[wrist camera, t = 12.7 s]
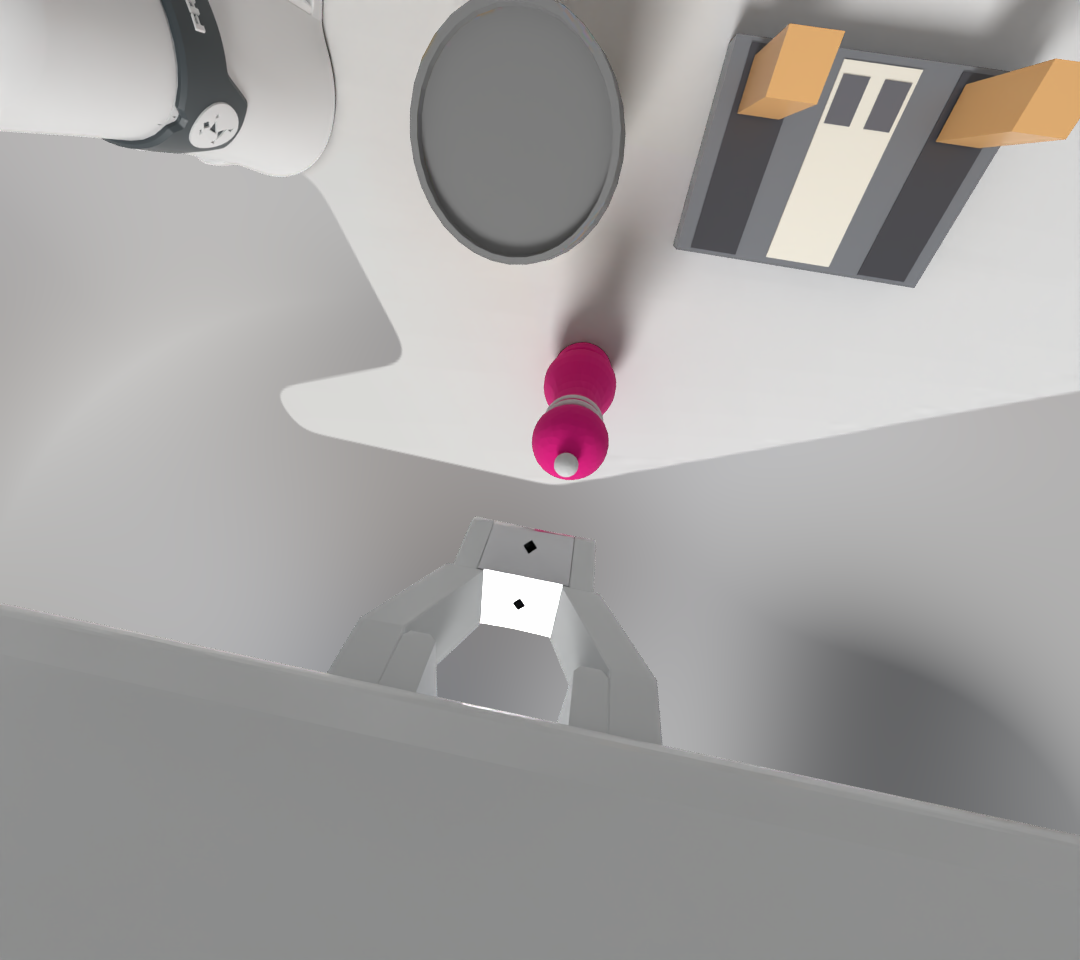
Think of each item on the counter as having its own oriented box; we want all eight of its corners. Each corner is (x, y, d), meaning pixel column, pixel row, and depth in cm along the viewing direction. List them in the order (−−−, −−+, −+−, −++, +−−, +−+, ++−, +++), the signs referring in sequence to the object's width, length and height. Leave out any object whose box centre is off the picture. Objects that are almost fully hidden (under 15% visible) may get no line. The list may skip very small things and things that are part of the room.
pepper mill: (543, 343, 45) (503, 433, 29) (611, 331, 43) (610, 419, 27) (556, 405, 49) (527, 515, 32) (619, 396, 47) (622, 507, 31)
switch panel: (897, 282, 37) (915, 288, 35) (673, 245, 38) (676, 249, 36) (1013, 83, 30) (1044, 75, 27) (729, 43, 30) (737, 32, 28)
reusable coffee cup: (621, 41, 31) (626, -51, 19) (622, 235, 38) (626, 259, 26) (461, 73, 33) (374, 9, 21) (489, 251, 40) (436, 278, 28)
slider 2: (979, 148, 30) (1065, 139, 24) (935, 141, 30) (1011, 131, 24) (1012, 90, 28) (1114, 66, 22) (966, 84, 28) (1055, 58, 22)
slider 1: (778, 119, 30) (816, 104, 25) (737, 113, 30) (765, 96, 25) (799, 61, 28) (845, 31, 23) (754, 55, 29) (789, 23, 23)
